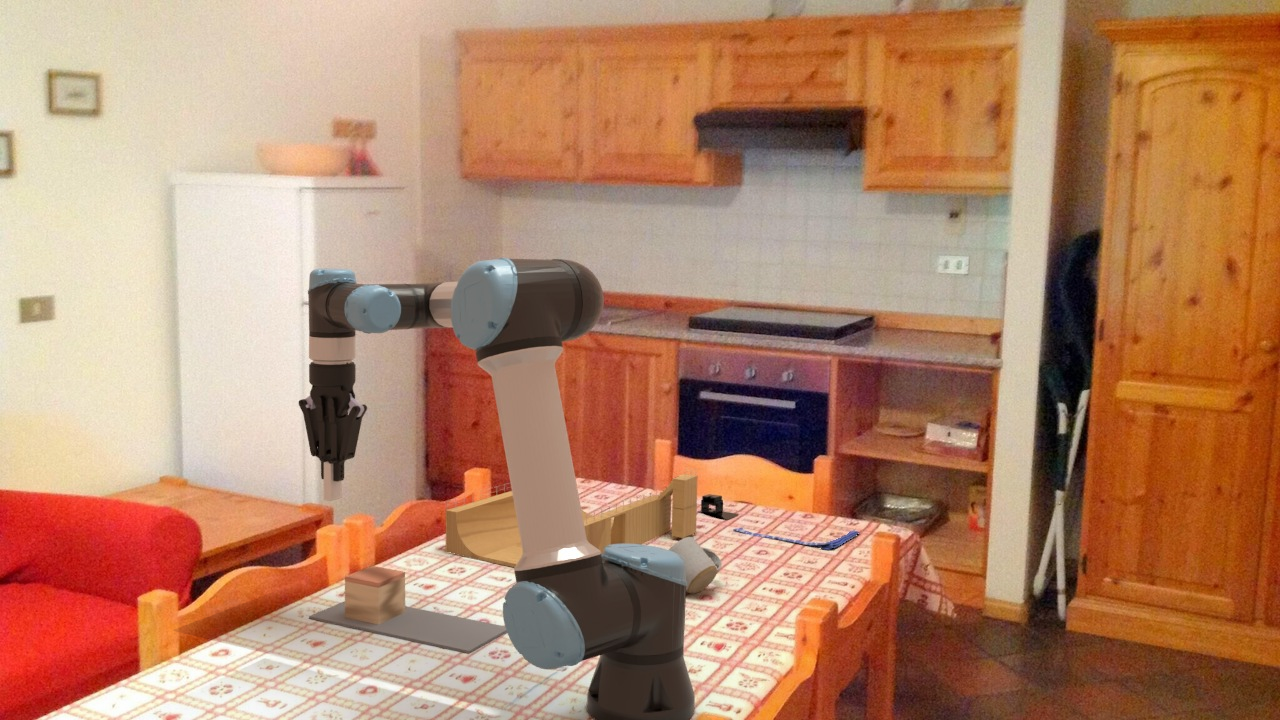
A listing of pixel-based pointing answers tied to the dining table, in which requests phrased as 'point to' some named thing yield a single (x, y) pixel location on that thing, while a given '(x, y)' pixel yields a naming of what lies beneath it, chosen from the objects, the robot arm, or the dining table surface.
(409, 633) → the slate mat
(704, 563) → the ceramic mug
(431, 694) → the dining table surface
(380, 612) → the wooden cube
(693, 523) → the skate ramp
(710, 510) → the black boxy piece
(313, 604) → the dining table surface
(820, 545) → the dish towel
